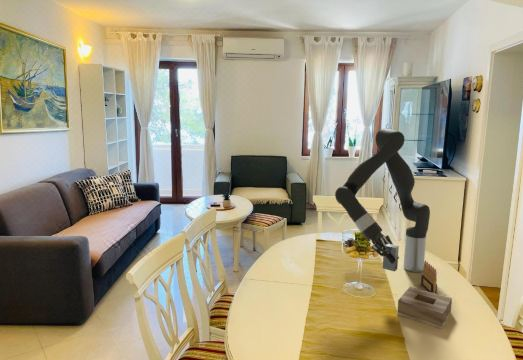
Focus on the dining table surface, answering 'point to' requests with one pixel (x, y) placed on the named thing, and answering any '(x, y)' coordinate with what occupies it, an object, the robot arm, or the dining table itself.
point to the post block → (425, 307)
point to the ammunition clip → (429, 278)
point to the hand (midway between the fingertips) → (395, 260)
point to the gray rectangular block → (394, 252)
